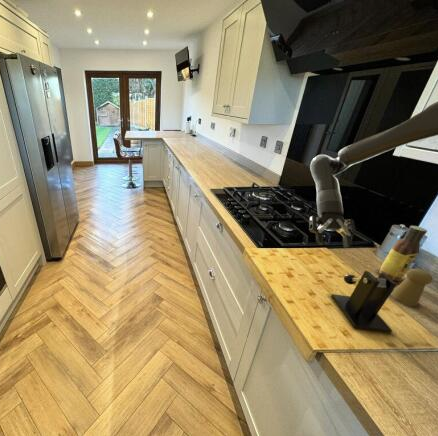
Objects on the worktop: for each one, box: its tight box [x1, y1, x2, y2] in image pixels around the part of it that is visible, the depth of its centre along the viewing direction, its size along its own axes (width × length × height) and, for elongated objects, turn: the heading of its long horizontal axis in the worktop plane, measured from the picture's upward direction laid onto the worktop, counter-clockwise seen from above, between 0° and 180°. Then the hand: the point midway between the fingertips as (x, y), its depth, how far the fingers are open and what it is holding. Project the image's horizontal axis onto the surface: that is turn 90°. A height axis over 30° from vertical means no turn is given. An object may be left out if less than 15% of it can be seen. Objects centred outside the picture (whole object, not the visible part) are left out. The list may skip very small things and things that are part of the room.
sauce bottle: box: [378, 225, 428, 282], centre depth 82 cm, size 7×6×20 cm
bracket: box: [330, 270, 398, 335], centre depth 66 cm, size 12×9×14 cm
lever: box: [343, 273, 386, 288], centre depth 69 cm, size 13×3×3 cm
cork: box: [390, 268, 434, 307], centre depth 73 cm, size 6×6×11 cm
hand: (333, 245), depth 83 cm, fingers open, 8 cm apart
